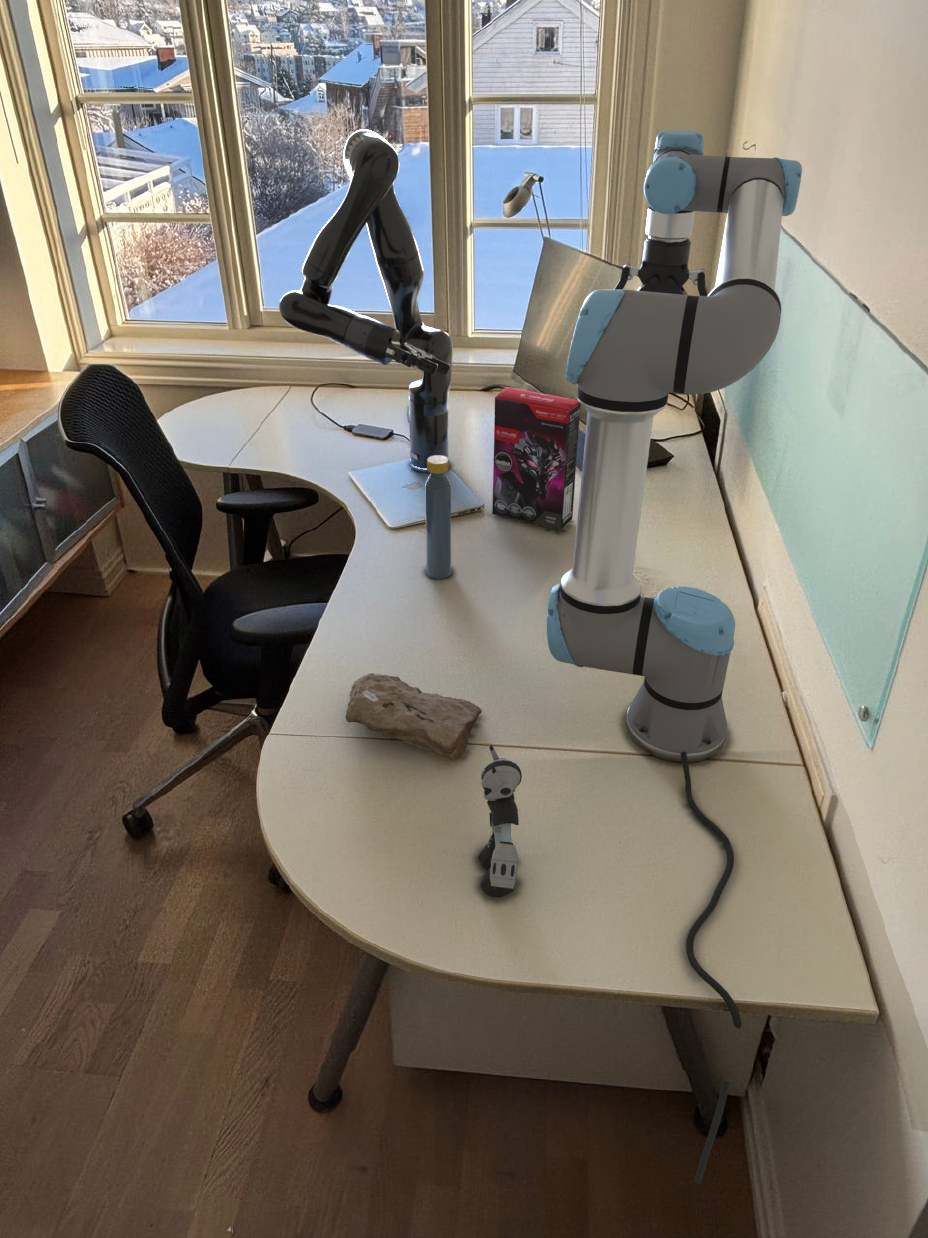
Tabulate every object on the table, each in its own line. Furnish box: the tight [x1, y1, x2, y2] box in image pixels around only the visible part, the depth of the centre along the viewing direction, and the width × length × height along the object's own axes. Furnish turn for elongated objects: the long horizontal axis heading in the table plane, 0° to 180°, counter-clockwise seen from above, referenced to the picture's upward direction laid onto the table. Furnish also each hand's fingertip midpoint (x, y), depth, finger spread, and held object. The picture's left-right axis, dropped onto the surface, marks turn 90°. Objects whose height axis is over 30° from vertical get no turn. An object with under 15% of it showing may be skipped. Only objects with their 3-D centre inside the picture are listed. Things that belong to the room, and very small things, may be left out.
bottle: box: [424, 472, 452, 580], centre depth 176 cm, size 5×5×24 cm
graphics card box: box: [491, 386, 582, 531], centre depth 194 cm, size 17×7×27 cm, turn 62°
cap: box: [427, 455, 450, 474], centre depth 169 cm, size 4×4×2 cm
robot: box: [477, 744, 523, 898], centre depth 114 cm, size 20×5×20 cm, turn 3°
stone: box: [344, 672, 483, 761], centre depth 141 cm, size 21×15×6 cm
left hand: (442, 370), depth 186 cm, fingers open, 8 cm apart
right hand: (652, 364), depth 163 cm, fingers open, 13 cm apart
